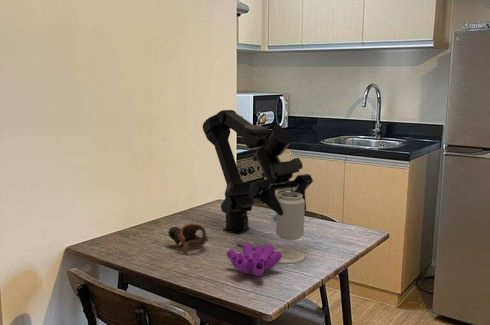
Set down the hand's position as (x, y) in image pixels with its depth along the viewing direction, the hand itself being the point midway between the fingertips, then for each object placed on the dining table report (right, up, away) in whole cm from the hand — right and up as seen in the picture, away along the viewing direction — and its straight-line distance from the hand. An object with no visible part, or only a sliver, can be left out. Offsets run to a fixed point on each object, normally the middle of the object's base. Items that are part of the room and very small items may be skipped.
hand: (293, 212), depth 133 cm
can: (-1, -7, +3) cm, 7 cm away
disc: (-2, -13, +3) cm, 13 cm away
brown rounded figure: (-30, -12, +10) cm, 33 cm away
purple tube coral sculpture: (-11, -15, -7) cm, 19 cm away
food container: (+1, -6, +39) cm, 39 cm away
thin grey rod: (-11, -11, +9) cm, 18 cm away
